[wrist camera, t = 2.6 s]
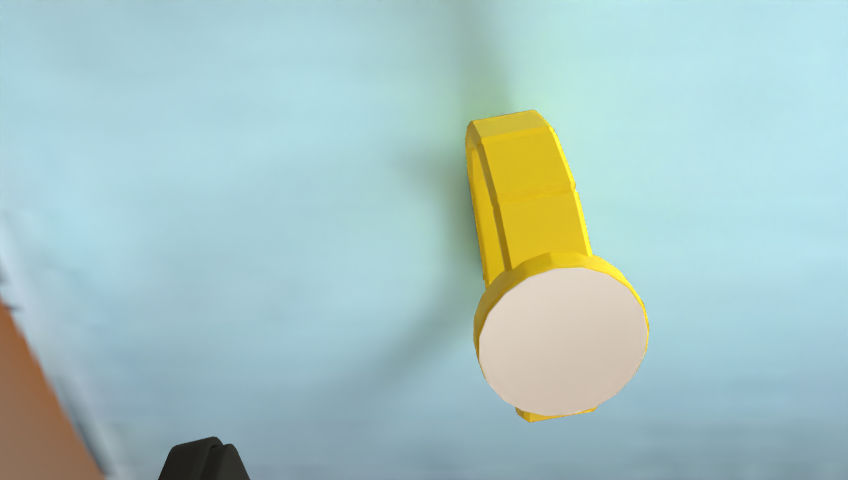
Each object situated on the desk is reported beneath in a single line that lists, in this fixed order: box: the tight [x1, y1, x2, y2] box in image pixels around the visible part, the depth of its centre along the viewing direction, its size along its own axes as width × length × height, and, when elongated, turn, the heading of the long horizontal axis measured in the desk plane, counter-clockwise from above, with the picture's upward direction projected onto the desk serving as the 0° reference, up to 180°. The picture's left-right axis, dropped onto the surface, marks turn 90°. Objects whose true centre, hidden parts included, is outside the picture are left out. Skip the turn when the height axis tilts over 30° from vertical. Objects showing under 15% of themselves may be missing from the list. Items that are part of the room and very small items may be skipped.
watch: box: [465, 110, 649, 423], centre depth 13 cm, size 6×3×6 cm, turn 10°
